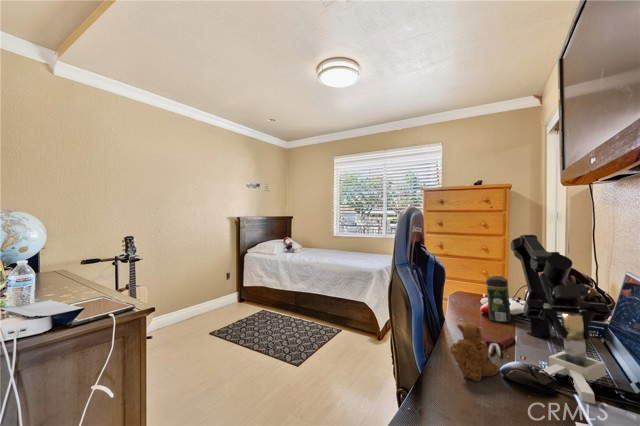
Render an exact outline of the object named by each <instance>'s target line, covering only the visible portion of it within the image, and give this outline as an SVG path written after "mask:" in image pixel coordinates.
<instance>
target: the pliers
mask: <svg viewBox="0 0 640 426" xmlns="http://www.w3.org/2000/svg"><path fill="white" fill-rule="evenodd" d="M483 334H484V333H483ZM483 334H482V332H481V337H482V340H481V341H484V342H485V343H486V345H487V348H488V356H491V355H492V354H493V353H494V351H496V354H497V355H498V357H500V358H501V357H502V356H501V350H503V351H505V350H506V347H508V346H510V345H512V344H513V343H514V337H513V334H512V333H510V332H507V336H506V337H504V338H502V339H499V340H496V341H495V342H494V341H493V340H492V339H490V338H489V337H487V336H486V335H485V334H484V335H483Z"/></svg>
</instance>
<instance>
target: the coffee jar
mask: <svg viewBox="0 0 640 426" xmlns="http://www.w3.org/2000/svg"><path fill="white" fill-rule="evenodd" d="M485 282H486V294H487V295H486V297H487V307H488V318H489V320H491V321H494V322H496V323H510V321H511V317H512V315H511V308H510V295H509V294H510V292H509V286H508V285H509V284H508V279H507V278H505V277H504V276H501V275H492V276H489V277H487V278H486V279H485Z"/></svg>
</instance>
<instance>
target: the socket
mask: <svg viewBox="0 0 640 426" xmlns="http://www.w3.org/2000/svg"><path fill="white" fill-rule="evenodd" d="M586 357H587V356H586ZM548 364H549V365H548V366H547V367H545V368H542V369H541V370H544V371H545V372H547V373H548V374H549V375H552V376H555V374H556V373H559V374H564V373H567V374H570V376H571V377H572V378H573V383H574V385H573V388H574V389H575V390H576V392H577V394H578V396H579V398H580V399H581V402H582V403H587V404H592V405H596V398H595V393H594V391H593V389H592V388H591V387H590V385H589V384H588V383H587V382H586V380H585V379H587V380H596V379H598V378H601V377H603V376H605V375H606V376H607V370H606V363H605V362H604V361H600V360H597V359H594V358H591V357H587V366H578V365H575V364H573V363H570V362H567V361H566V360H565V351H564V350H562V351H560V352H558V353H555V354H552V355H549V356H548ZM573 383H572V384H573Z"/></svg>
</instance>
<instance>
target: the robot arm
mask: <svg viewBox="0 0 640 426" xmlns="http://www.w3.org/2000/svg"><path fill="white" fill-rule="evenodd" d="M510 249H511V251H512V252H513V255H514V257H516V259H518V260H519V261H520V263H521V268H522V270H523V271H522V272H523V275H524V278H525V283H526V286H527V291H528V296H527V298H526V299H525V303H524V306H523V313H524V316H525V317H526V319H528V320H529V321H530V323H529V324H530V331H527V332H526V334H527V335H530V336H534V337H537V338H539V339H543V340H550V339H553V338H556V337H557V334H555V333H552V328H553V329H554V330H555V331H556V332H557V333H558V335H560V336H561V337H562V338H566V334H565V331H564V329H563V327H562V322H561V320H560V319H559V316H558V314H561V312H573V313H578V314H581V315H582V316H583V325H584V336H585V341H589V339H590V323H592V322H602V323H603V322H606V320H607V319H608V317H609V316H610V315H611V313H612V309H611V308H610V306H609V305H608V304H606V303H604V302H587V303H586V306H576V305H577V304H579V300H578V299H581V298H585V297H587V296H589V292H588V289H587V288H586V285H585V284H582V283H581V284H575V285H567V284H566V282H565V280H566V279H567V278H568V277H569V274H570V271H571V269H572V266H573V261H572V260H571V259H570V258H569V257H567V256H565V255H562V254H561V253H560V252H558V251H547V250H546V249H545V248H544V246H543V244H541V242H539V240H538V236H537V235H536V234H522V235H520V236H519V237H516V238H514V239H512V241H511V242H510ZM539 273H541V274H539Z"/></svg>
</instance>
